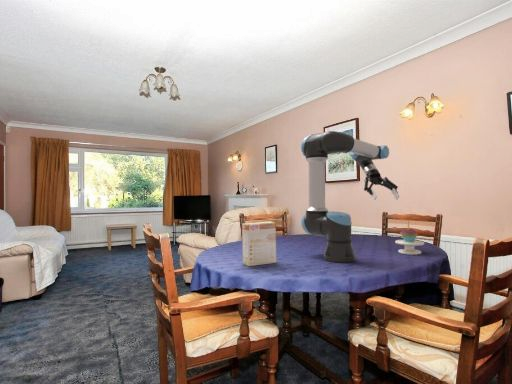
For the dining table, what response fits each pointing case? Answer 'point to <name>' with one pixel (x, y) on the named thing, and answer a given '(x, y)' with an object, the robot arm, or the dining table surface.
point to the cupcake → (409, 234)
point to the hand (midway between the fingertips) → (386, 198)
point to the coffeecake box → (259, 243)
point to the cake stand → (409, 247)
